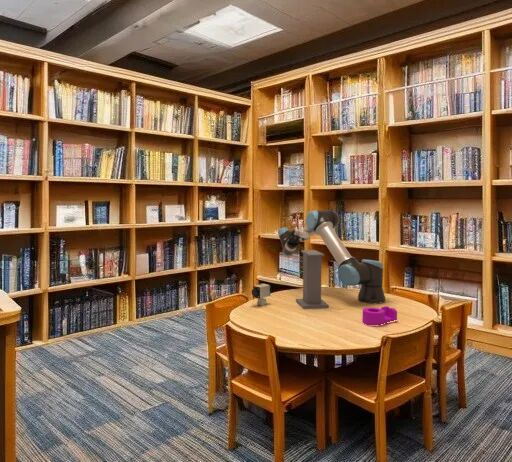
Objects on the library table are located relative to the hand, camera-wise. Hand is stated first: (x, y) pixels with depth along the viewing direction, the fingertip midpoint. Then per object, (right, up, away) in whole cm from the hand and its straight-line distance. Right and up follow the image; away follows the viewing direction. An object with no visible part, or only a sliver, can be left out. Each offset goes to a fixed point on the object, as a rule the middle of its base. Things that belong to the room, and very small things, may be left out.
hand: (299, 228), depth 253 cm
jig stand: (+4, -42, -25) cm, 49 cm away
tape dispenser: (+31, -45, -56) cm, 78 cm away
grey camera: (-24, -42, -25) cm, 54 cm away
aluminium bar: (0, -5, -3) cm, 5 cm away
